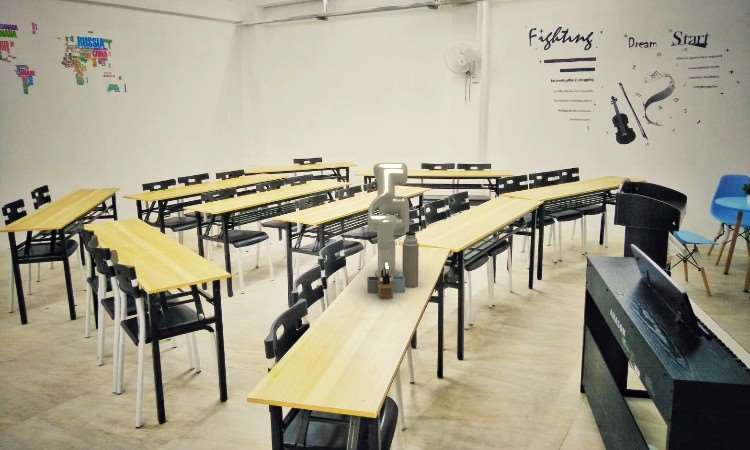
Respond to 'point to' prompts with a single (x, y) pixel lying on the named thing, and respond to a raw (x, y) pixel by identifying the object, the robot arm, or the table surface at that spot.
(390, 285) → the lid
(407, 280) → the thermos bottle
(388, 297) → the oak box
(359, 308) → the table surface
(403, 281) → the square blue-grey bin
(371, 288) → the grey open storage bin
